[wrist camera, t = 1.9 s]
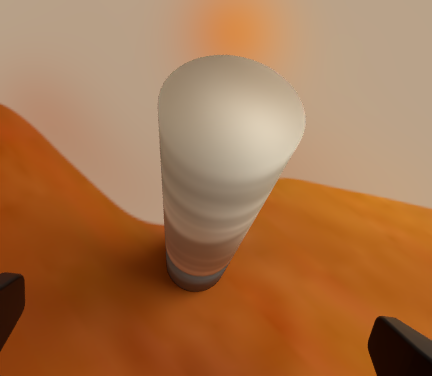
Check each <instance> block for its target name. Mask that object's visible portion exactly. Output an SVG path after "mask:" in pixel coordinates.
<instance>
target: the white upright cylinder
mask: <svg viewBox="0 0 432 376" xmlns="http://www.w3.org/2000/svg"><path fill="white" fill-rule="evenodd" d="M305 118H306V117H305V110H304V107H303V104H302V101H301V99H300V97H299V95H298V93H297V92H296V91H295V89H294V88H293V86H292V85H291V84H290V83H289V82H288V81H287V80H286V79H285V78H284V77H283V76H281V75H280V74H279V73H277V72H276V71H274V70H273V69H271V68H270V67H268V66H266V65H264V64H262V63H259V62H257V61H254V60H251V59H247V58H244V57H238V56H230V55H214V56H206V57H201V58H198V59H195V60H192V61H190V62H187V63H185V64H184V65H182V66H180V67H179V68H177V69H176V70H175V71H173V72H172V73H171V74H170V76H169V77H168V78H167V79H166V81H165V82H164V83H163V86H162V88H161V90H160V93H159V97H158V121H159V138H160V155H161V173H162V191H163V207H164V226H165V243H166V261H167V270H168V273H169V275H170V277H171V279H172V280H173V281H174V283H175V284H177V285H178V286H179V287H181V288H182V289H185V290H187V291H192V292H199V291H204V290H207V289H209V288H211V287H212V286H214V285H215V284H216V283H217V282H218V281H219V279H220V278H221V276H222V274H223V273H224V271H225V269H226V267H227V266H228V264H229V262H230V261H231V259H232V257H233V255H234V254H235V252H236V250H237V249H238V247H239V245H240V243H241V242H242V240H243V238H244V237H245V235H246V233H247V232H248V230H249V228H250V226H251V225H252V223H253V221H254V220H255V218H256V216H257V214H258V213H259V211H260V209H261V208H262V206H263V204H264V202H265V201H266V199H267V197H268V196H269V194H270V192H271V190H272V189H273V187H274V185H275V184H276V182H277V180H278V179H279V177H280V175H281V173H282V172H283V170H284V168H285V167H286V165H287V163H288V161H289V160H290V158H291V156H292V155H293V153H294V151H295V149H296V148H297V146H298V144H299V142H300V141H301V139H302V137H303V134H304V130H305V123H306V119H305Z"/></svg>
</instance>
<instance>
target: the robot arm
mask: <svg viewBox="0 0 432 376" xmlns="http://www.w3.org/2000/svg"><path fill="white" fill-rule="evenodd" d="M24 306H25V283H24V277H23V276H22V275H21V274H16V273H7V272H5V273H1V274H0V351H1V350H2V348H3V346H4V344H5V343H6V341H7V339H8V337H9V336H10V334H11V332H12V330H13V328H14V327H15V325H16V323H17V321H18V320H19V318H20V316H21V314H22V312H23V310H24ZM368 351H369V354H370V357H371V360H372V363H373V366H374V368H375V371H376V374H377V376H432V340H430V339H428V338H427V337H425V336H424V335H422V334H420V333H419V332H417V331H416V330H414V329H412V328H411V327H409V326H408V325H406V324H404V323H403V322H401V321H400V320H398V319H396V318H394V317H386V316H379V317H377V318H376V320H375V323H374V325H373V328H372V331H371V334H370V337H369V340H368Z"/></svg>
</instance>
